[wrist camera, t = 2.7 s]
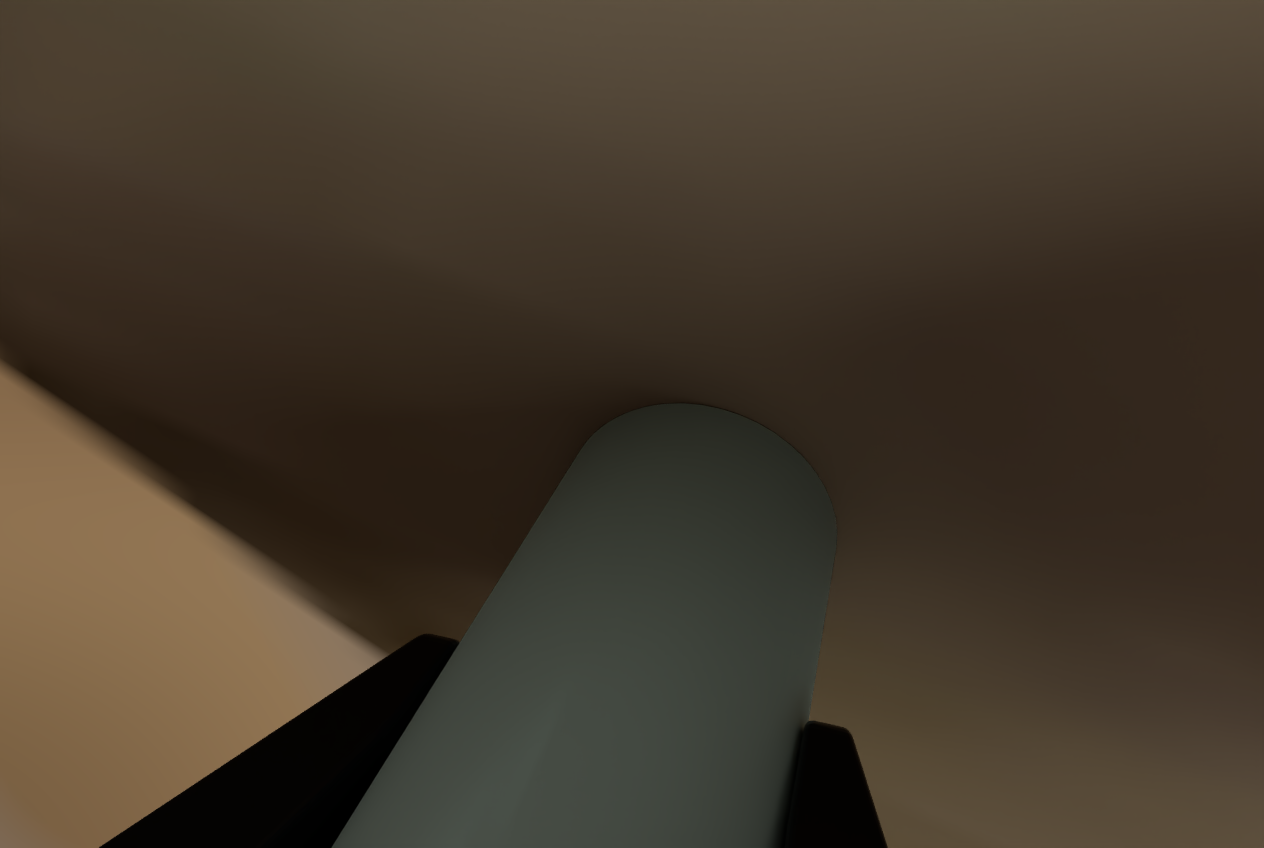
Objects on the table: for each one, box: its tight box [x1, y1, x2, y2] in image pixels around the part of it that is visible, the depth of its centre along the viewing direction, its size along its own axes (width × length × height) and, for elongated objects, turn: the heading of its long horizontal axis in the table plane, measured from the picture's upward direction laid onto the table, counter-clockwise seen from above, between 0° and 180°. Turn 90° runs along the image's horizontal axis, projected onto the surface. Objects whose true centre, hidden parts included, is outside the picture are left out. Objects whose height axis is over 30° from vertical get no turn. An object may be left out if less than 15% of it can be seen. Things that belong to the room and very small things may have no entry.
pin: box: [332, 403, 837, 848], centre depth 8 cm, size 4×4×9 cm
